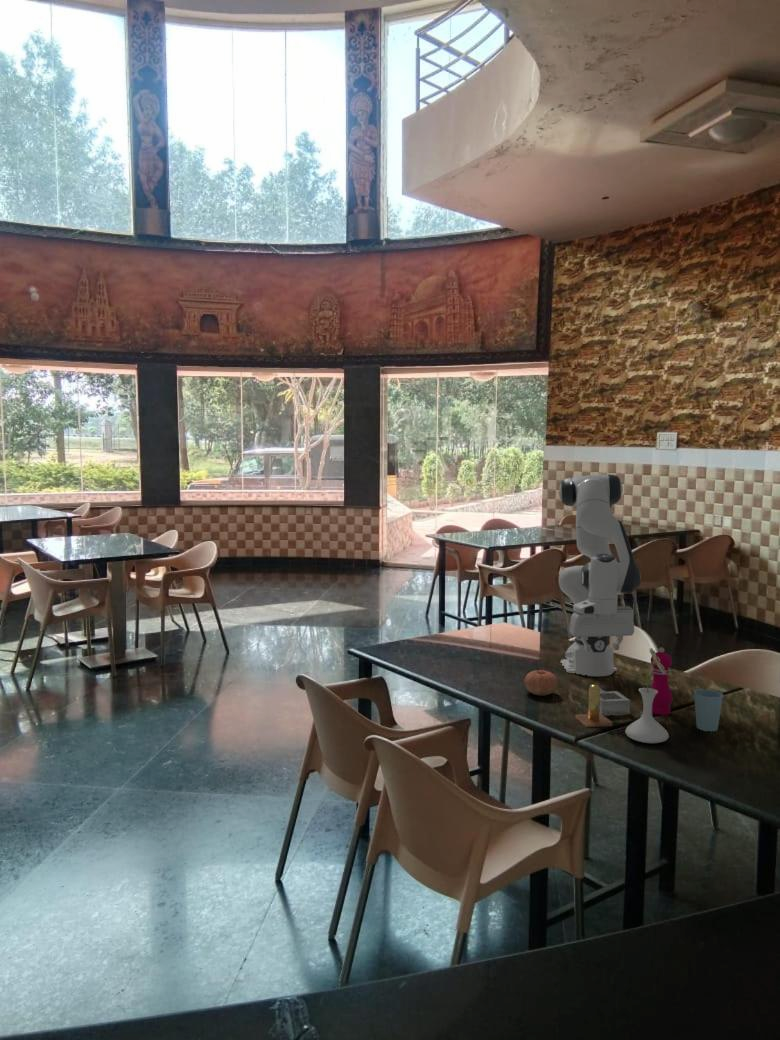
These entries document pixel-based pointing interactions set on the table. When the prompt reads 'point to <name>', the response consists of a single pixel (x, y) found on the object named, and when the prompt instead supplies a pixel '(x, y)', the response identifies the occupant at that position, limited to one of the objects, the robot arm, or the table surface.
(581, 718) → the post
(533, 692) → the orange pumpkin
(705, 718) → the cup
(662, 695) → the pepper mill
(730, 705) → the table surface
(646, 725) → the flower in vase
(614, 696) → the steel link
